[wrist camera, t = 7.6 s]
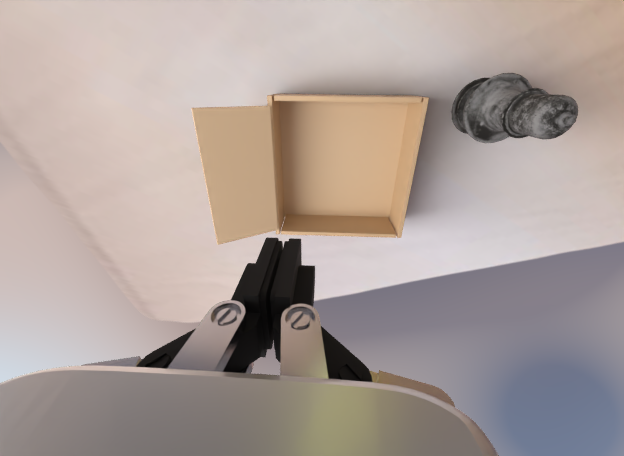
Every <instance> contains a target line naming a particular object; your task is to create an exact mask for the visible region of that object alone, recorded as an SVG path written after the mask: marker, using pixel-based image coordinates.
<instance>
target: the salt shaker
mask: <svg viewBox="0 0 624 456" xmlns="http://www.w3.org/2000/svg"><path fill="white" fill-rule="evenodd" d="M577 115H578V106H577V103H576V101H575V100H574V99H572V98H571V97H568V96H565V95H549V94H548V93H547V92H545V91H544V90H542V89H539V88H532V87H531V85H530V84H529V82H528V80H526V79H525V78H524V77H522V76H521V75H518V74H514V73H503V74H500V75H497V76H493V77H492V78H481V79H478V80H475V81H473V82H471V83H469V84H468V85H466V86H465V87H464V88H463V89H462V90H461V91H460V93H459V94H458V95H457V97H456V99H455V101H454V103H453V107H452V120H453V123H454V125H455V126H456V128H457V129H458V130H460V131H461V132H463V133H467V134H469V135H470V136H471V137H472V138H473V139H475V140H477V141H479V142H483V143H494V142H497V141H501V140H503V139H505V138H507V137H509V136H510V137H514V138H523V137H526V136H531V137H535V138H539V139H552V138H556V137H558V136H560V135H562V134H563V133H565V132H566V131H567V130H569V128H570V127H571V126H572V125H573V124H574V123H575V122H576V118H577Z"/></svg>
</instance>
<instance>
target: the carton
mask: <svg viewBox="0 0 624 456" xmlns="http://www.w3.org/2000/svg"><path fill="white" fill-rule="evenodd" d="M428 100H429V98H428V97H420V96H408V95H327V94H273V95H268V96H267V101H268V106H270V114H271V130H272V147H273V163H274V180H275V196H276V213H277V230H276V234H280V231H281V234H289V235H324V236H358V237H393V238H396V236H397V238H401V235H402V230H403V225H404V220H405V215H406V210H407V205H408V200H409V195H410V190H411V185H412V180H413V175H414V170H415V165H416V160H417V155H418V150H419V145H420V140H421V135H422V130H423V125H424V120H425V115H426V110H427V105H428ZM284 218H285V220H284ZM283 221H284V223H283ZM282 224H283V227H282ZM281 228H282V230H281Z"/></svg>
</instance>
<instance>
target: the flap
mask: <svg viewBox="0 0 624 456" xmlns="http://www.w3.org/2000/svg"><path fill="white" fill-rule="evenodd" d="M191 109H192V114H193V119H194V125H195V130H196V135H197V140H198V145H199V151H200V156H201V161H202V166H203V172H204V177H205V182H206V187H207V192H208V198H209V203H210V208H211V213H212V219H213V224H214V229H215V234H216V239H217V244H218V245H219V244H223V243H227V242H231V241H235V240H239V239H243V238H247V237H251V236H255V235H259V234H263V233H267V232H271V231H275V230H277V213H276V196H275V180H274V163H273V147H272V130H271V114H270V106H244V107H206V108H191Z"/></svg>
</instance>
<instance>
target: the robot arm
mask: <svg viewBox="0 0 624 456" xmlns="http://www.w3.org/2000/svg"><path fill="white" fill-rule="evenodd" d="M314 286H315V266H303V265H301V239H289V241H285V243H284V247H283V244H282V241H278V238H266V240H265V242H264V245H263V247H262V249H261V252H260V254H259V257H258V259H257V262H256V264H255V263H248V264H247V266H246V268H245V270H244V272H243V275H242V277H241V279H240V281H239V284H238V286H237V288H236V290H235V292H234V295H233V297H232V299H231V300H228V301H223V302H220V303H218V304H216V305H215V306H213V307H212V308H211V309H210V310H209V311H208V313H207V314H206V316H205V317H204V318H203V320H202V321H201V322H200V324H199V325H198V327H197V328H196V329H194V330H192V331H190V332H188V333H187V334H185V335H183V336H181V337H179V338H177V339H176V340H174V341H172V342H170V343H168V344H167V345H165V346H162V347H161V348H159V349H157V350H155V351H153V352H152V353H150V354H149V355H147V356H146V357H145V358H144V359H141V358H140V356H138V357H131V358H124V359H118V360H111V361H104V362H98V363H91V364H85V365H81V366H69V367H59V368H52V369H46V370H41V371H36V372H32V373H29V374H25V375H21V376H18V377H15V378H12V379H9V380H7V381H4V382H2V383H0V456H499V455H498V453H497V452H496V450H495V448H494V447H493V445H492V444H491V442H490V441H489V439H488V438H487V436H486V435H485V433H484V432H483V431H482V430H481V429H480V427H479V426H478V425H477V424H476V423H475V422H474V421H473V420H472V419H470V418H469V417H468V416H467V415H465V414H464V413H463V412H461V411H460V410H458V409H456V408H455V406H454V403H453V401H452V400H451V398H450V397H449V396H448V395H447V394H446V393H445V392H444V391H443V390H441V389H439V388H437V387H435V386H432V385H429V384H425V383H422V382H418V381H415V380H411V379H408V378H404V377H401V376H397V375H393V374H390V373H386V372H383V371H380V370H379V373H375V372H372V371H369V369H368V368H367V367H366V366H365V365H364V364H363V363H362V362H361V361H360V360H359V359H358V358H357V357H355V356H354V355H353V354H352V353H351V352H350V351H349V350H347V349H346V348H345V347H344V346H343V345H342V344H340V342H338V341H337V340H336V339H335V338H334V337H332V335H330V334H329V333H328V332H327V331H326V330H325V329H324V328H323V327H322V326H321V325H320V318H319V315H318V312H317V311H316V309H315V308H313V303H314ZM273 340H274V348H275V352H276V359H277V360H278V361H279V362H280V363H281V364H280V375H266V374H251V372H252V369H253V365H254V363H253V362H254V361H255V360H257V359H258V358H260V357H265V356H266V352H267V349H271V348H272V344H273Z"/></svg>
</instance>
